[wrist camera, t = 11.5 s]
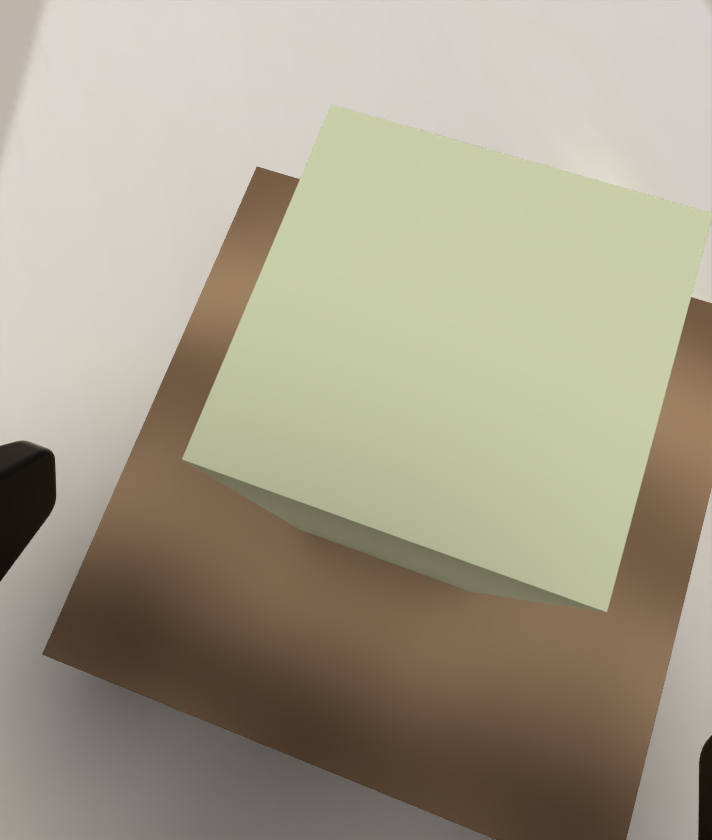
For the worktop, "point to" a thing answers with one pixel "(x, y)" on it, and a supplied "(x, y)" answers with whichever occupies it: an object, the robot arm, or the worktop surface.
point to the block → (456, 361)
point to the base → (387, 612)
